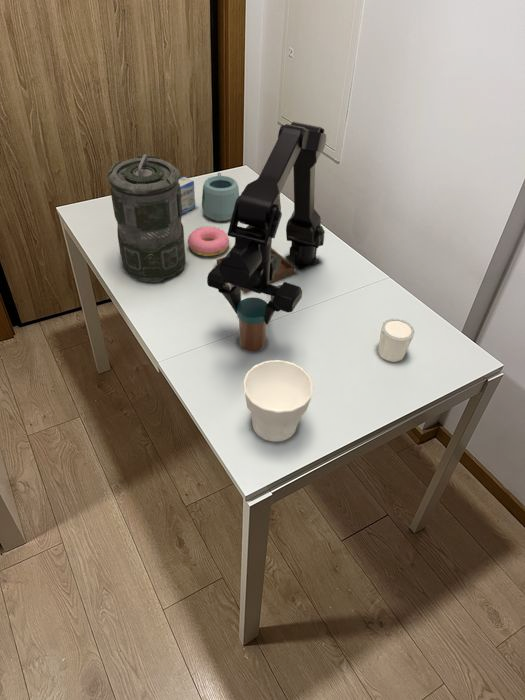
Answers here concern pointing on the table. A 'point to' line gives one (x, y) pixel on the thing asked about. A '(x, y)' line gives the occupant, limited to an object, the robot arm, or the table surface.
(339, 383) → the table surface
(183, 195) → the medicine box
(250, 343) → the jar
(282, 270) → the tray
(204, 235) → the doughnut
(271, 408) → the cream flower pot
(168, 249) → the canister
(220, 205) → the mug
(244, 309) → the lid
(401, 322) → the cream cylinder
